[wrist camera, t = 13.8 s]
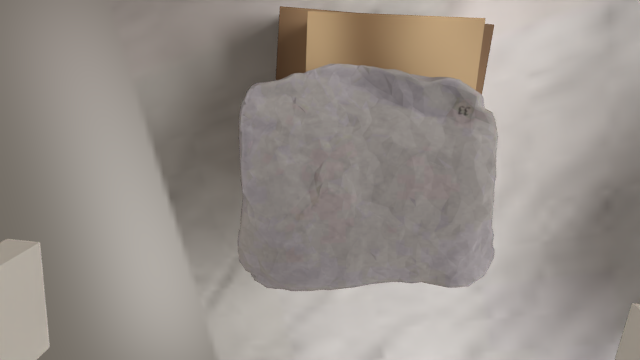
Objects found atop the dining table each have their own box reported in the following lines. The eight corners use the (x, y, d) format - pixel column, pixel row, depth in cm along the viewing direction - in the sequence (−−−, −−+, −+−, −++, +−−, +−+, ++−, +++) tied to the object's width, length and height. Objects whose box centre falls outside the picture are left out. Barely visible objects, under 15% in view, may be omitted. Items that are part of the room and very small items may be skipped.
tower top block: (457, 26, 25) (485, 18, 20) (437, 197, 27) (457, 226, 22) (314, 20, 25) (307, 10, 20) (308, 190, 27) (300, 217, 23)
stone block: (241, 82, 23) (251, 273, 23) (216, 63, 18) (230, 304, 18) (473, 71, 22) (477, 264, 23) (512, 48, 18) (516, 294, 18)
